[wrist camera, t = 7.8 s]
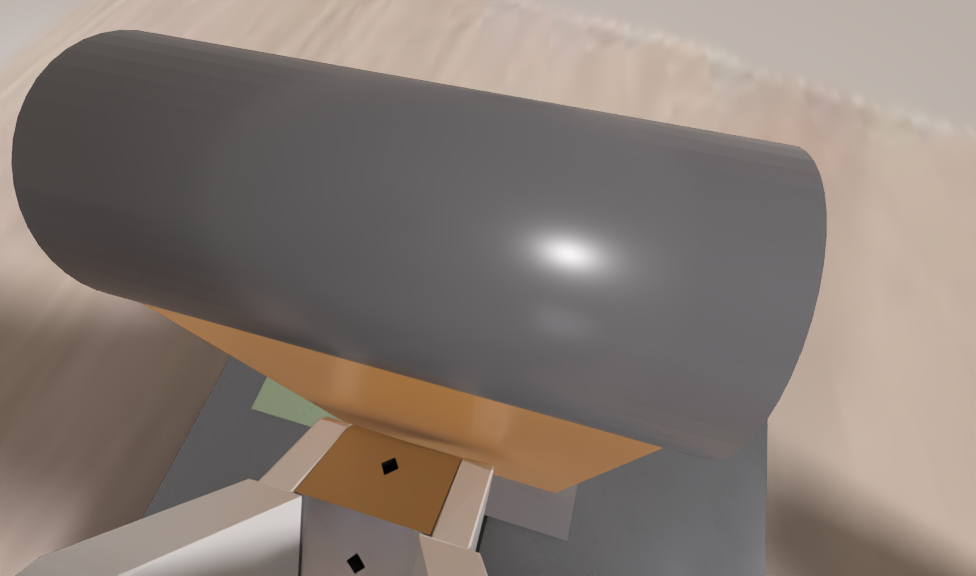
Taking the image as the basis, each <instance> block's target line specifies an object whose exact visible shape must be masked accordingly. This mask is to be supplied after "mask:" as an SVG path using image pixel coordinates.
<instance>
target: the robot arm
mask: <svg viewBox="0 0 976 576" xmlns="http://www.w3.org/2000/svg"><path fill="white" fill-rule="evenodd" d="M493 471H494V467H493V465H491V464H487V463H483V462H479V461H476V460H472V459H468V458H465V457H464V458H462V457H459V456H455V455H452V454H448V453H445V452H441V451H438V450H434V449H431V448H427V447H424V446H420V445H417V444H413V443H410V442H407V441H404V440H400V439H397V438H394V437H391V436H388V435H385V434H382V433H379V432H375V431H372V430H369V429H366V428H363V427H360V426H357V425H351V424H349V423H346V422H342V421H339V420H336V419H333V418H330V417H324V418H321V419H319V420H318V421H317V422H316V423H315V424H314V425H313V426H312V427H311V428H310V429H309V430H308V431H307V432H306V433H305V434H304V435H303V436H302V437H301V438H300V439H299V440H298V441H297V442H296V443H295V444H294V445H293V446H292V447H291V448H290V449H289V450H288V451H287V452H286V453H285V454H284V455H283V456H282V457H281V458H280V459H279V460H278V461H277V462H276V464H275V465H274V466H273V467H272V468H271V469H270V470H269V471H268V472H267V473H266V474H265V475H264V476H263V477H262V478H261V479H260V480H259V481H255V480H252V479H247V480H244V481H241V482H239V483H236V484H233V485H231V486H228V487H225V488H223V489H220V490H217V491H215V492H212V493H209V494H207V495H204V496H201V497H199V498H196V499H193V500H191V501H188V502H185V503H183V504H180V505H177V506H175V507H172V508H169V509H167V510H164V511H161V512H159V513H156V514H153V515H151V516H148V517H145V518H143V519H140V520H137V521H135V522H132V523H129V524H127V525H124V526H121V527H119V528H116V529H113V530H111V531H108V532H105V533H103V534H100V535H97V536H95V537H92V538H89V539H86V540H84V541H81V542H78V543H76V544H73V545H70V546H68V547H65V548H62V549H60V550H57V551H54V552H52V553H49V554H46V555H44V556H41V557H39V558H38V559H37V560H35V561H34V562H33V563H31V564H30V565H29V566H27V567H26V568H25V569H23V570H22V571H21V572H19V573H18V574H17V575H15V576H488V574H487V572H486V569H485V566H484V563H483V560H482V558H481V555H480V553H478V552H475V551H476V547H477V542H478V538H479V534H480V529H481V525H482V521H483V516H484V512H485V508H486V503H487V499H488V494H489V490H490V485H491V481H492V476H493Z"/></svg>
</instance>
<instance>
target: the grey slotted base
mask: <svg viewBox="0 0 976 576" xmlns="http://www.w3.org/2000/svg"><path fill="white" fill-rule="evenodd" d="M324 417H330V418H333V419H336V420H339V421H342V420H340V419H338V418H337V417H335V416H333V415H331V414H330V413H328V412H326V411H325V410H323V409H321V408H320V407H318V406H316V405H314V404H313V403H311V402H309V401H308V400H306V399H304V398H302V397H301V396H299V395H297V394H296V393H294V392H292V391H291V390H289V389H287V388H285V387H284V386H282V385H280V384H279V383H277V382H275V381H273V380H272V379H270V378H268V377H267V376H265V375H263V374H262V373H260V372H258V371H256V370H255V369H253V368H251V367H250V366H248V365H246V364H245V363H243V362H241V361H239V360H238V359H236V358H234V357H233V356H231V357H230V359H229V361H228V362H227V364H226V366H225V368H224V370H223V372H222V373H221V375H220V377H219V379H218V381H217V383H216V384H215V386H214V388H213V390H212V392H211V394H210V395H209V397H208V399H207V401H206V403H205V404H204V406H203V408H202V410H201V412H200V414H199V415H198V417H197V419H196V421H195V423H194V425H193V426H192V428H191V430H190V432H189V434H188V436H187V437H186V439H185V441H184V443H183V445H182V446H181V448H180V450H179V452H178V454H177V456H176V457H175V459H174V461H173V463H172V465H171V467H170V468H169V470H168V472H167V474H166V476H165V478H164V479H163V481H162V483H161V485H160V487H159V488H158V490H157V492H156V494H155V496H154V498H153V499H152V501H151V503H150V505H149V507H148V509H147V510H146V512H145V514H144V516H143V518H145V517H148V516H151V515H153V514H156V513H159V512H161V511H164V510H167V509H169V508H172V507H175V506H177V505H180V504H183V503H185V502H188V501H191V500H193V499H196V498H199V497H201V496H204V495H207V494H209V493H212V492H215V491H217V490H220V489H223V488H225V487H228V486H231V485H233V484H236V483H239V482H241V481H244V480H247V479H252V480H255V481H259V480H260V479H261V478H262V477H263V476H264V475H265V474H266V473H267V472H268V471H269V470H270V469H271V468H272V467H273V466H274V465H275V464H276V462H277V461H278V460H279V459H280V458H281V457H282V456H283V455H284V454H285V453H286V452H287V451H288V450H289V449H290V448H291V447H292V446H293V445H294V444H295V443H296V442H297V441H298V440H299V439H300V438H301V437H302V436H303V435H304V434H305V433H306V432H307V431H308V430H309V429H310V428H311V427H312V426H313V425H314V424H315V423H316V422H317V421H318V420H319V419H321V418H324ZM342 422H343V421H342ZM766 480H767V420H766V421H765V423H764V424H763V425H762V427H761V428H760V429H759V430H758V432H757V433H756V434H755V436H754V437H753V438H751V439H750V440H749V441H748V442H747V443H746V444H745V445H744V446H743V447H742V448H741V449H740V450H738V451H737V452H735V453H734V454H732V455H731V456H729V457H726V458H724V459H721V460H713V461H710V460H706V459H702V458H699V457H695V456H691V455H688V454H684V453H681V452H677V451H673V450H670V449H666V448H662V449H660V450H657V451H655V452H652V453H650V454H648V455H645V456H643V457H640V458H638V459H636V460H633V461H631V462H628V463H626V464H624V465H621V466H619V467H616V468H614V469H612V470H609V471H607V472H604V473H602V474H600V475H597V476H595V477H593V478H590V479H588V480H585V481H583V482H581V483H578V484H577V490H576V495H575V501H574V506H573V512H572V517H571V523H570V528H569V534H568V539H567V541H565V540H562V539H559V538H556V537H553V536H550V535H547V534H543V533H540V532H537V531H534V530H531V529H528V528H524V527H521V526H518V525H515V524H512V523H509V522H505V521H502V520H499V519H496V518H493V517H490V516H486V515H484V516H483V521H482V525H481V529H480V534H479V538H478V542H477V547H476V551H475V552H478V553H480V555H481V558H482V560H483V563H484V566H485V569H486V572H487V574H488V576H765V543H766ZM143 518H142V519H143Z"/></svg>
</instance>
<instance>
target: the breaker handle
mask: <svg viewBox="0 0 976 576" xmlns="http://www.w3.org/2000/svg"><path fill="white" fill-rule="evenodd" d="M12 172H13V182H14V188H15V192H16V196H17V200H18V204H19V207H20V210H21V212H22V215H23V217H24V219H25V222H26V224H27V226H28V228H29V230H30V232H31V233H32V235H33V237H34V238H35V240H36V241H37V243H38V245H39V246H40V247H41V248H42V250H43V251H44V252H45V253H46V254H47V256H48V257H49V258H50V259H51V260H52V261H53V262H54V263H55V264H56V265H57V266H58V267H59V268H61V269H62V270H63V271H64V272H65V273H66V274H68V275H69V276H71V277H73V278H74V279H76V280H77V281H79V282H80V283H82V284H84V285H86V286H89V287H91V288H93V289H95V290H98V291H101V292H105V293H108V294H111V295H115V296H119V297H122V298H126V299H129V300H133V301H137V302H140V303H142V304H144V305H146V306H147V307H149V308H151V309H152V310H154V311H156V312H158V313H159V314H161V315H163V316H164V317H166V318H168V319H170V320H171V321H173V322H175V323H176V324H178V325H180V326H181V327H183V328H185V329H187V330H188V331H190V332H192V333H193V334H195V335H197V336H198V337H200V338H202V339H204V340H205V341H207V342H209V343H210V344H212V345H214V346H216V347H217V348H219V349H221V350H222V351H224V352H226V353H227V354H229V355H231V356H233V357H234V358H236V359H238V360H239V361H241V362H243V363H245V364H246V365H248V366H250V367H251V368H253V369H255V370H256V371H258V372H260V373H262V374H263V375H265V376H267V377H268V378H270V379H272V380H273V381H275V382H277V383H279V384H280V385H282V386H284V387H285V388H287V389H289V390H291V391H292V392H294V393H296V394H297V395H299V396H301V397H302V398H304V399H306V400H308V401H309V402H311V403H313V404H314V405H316V406H318V407H320V408H321V409H323V410H325V411H326V412H328V413H330V414H331V415H333V416H335V417H337V418H338V419H340V420H342V421H343V422H346V423H349V424H351V425H357V426H360V427H363V428H366V429H369V430H372V431H375V432H379V433H382V434H385V435H388V436H391V437H394V438H397V439H400V440H404V441H407V442H410V443H413V444H417V445H420V446H424V447H427V448H431V449H434V450H438V451H441V452H445V453H448V454H452V455H455V456H459V457H462V458H464V457H465V458H468V459H472V460H476V461H479V462H483V463H487V464H491V465H493V467H494V471H493V476H492V481H491V485H490V490H489V494H488V499H487V503H486V508H485V512H484V515H486V516H490V517H493V518H496V519H499V520H502V521H505V522H509V523H512V524H515V525H518V526H521V527H524V528H528V529H531V530H534V531H537V532H540V533H543V534H547V535H550V536H553V537H556V538H559V539H562V540H565V541H567V539H568V534H569V528H570V523H571V517H572V512H573V506H574V501H575V495H576V490H577V484H578V483H581V482H583V481H585V480H588V479H590V478H593V477H595V476H597V475H600V474H602V473H604V472H607V471H609V470H612V469H614V468H616V467H619V466H621V465H624V464H626V463H628V462H631V461H633V460H636V459H638V458H640V457H643V456H645V455H648V454H650V453H652V452H655V451H657V450H660V449H662V448H666V449H670V450H673V451H677V452H681V453H684V454H688V455H691V456H695V457H699V458H702V459H706V460H710V461H713V460H721V459H724V458H726V457H729V456H731V455H732V454H734V453H735V452H737V451H738V450H740V449H741V448H742V447H743V446H744V445H745V444H746V443H747V442H748V441H749V440H750V439H751V438H753V437H754V436H755V434H756V433H757V432H758V430H759V429H760V428H761V427H762V425H763V424H764V423H765V421H766V420H767V419H768V417H769V415H770V414H771V412H772V411H773V409H774V407H775V406H776V404H777V403H778V401H779V399H780V397H781V395H782V393H783V391H784V389H785V388H786V386H787V384H788V382H789V380H790V378H791V376H792V373H793V371H794V368H795V366H796V363H797V361H798V359H799V356H800V354H801V351H802V349H803V346H804V343H805V340H806V337H807V334H808V331H809V327H810V324H811V321H812V317H813V314H814V310H815V306H816V302H817V298H818V294H819V289H820V283H821V277H822V271H823V266H824V257H825V246H826V213H827V212H826V203H825V193H824V188H823V184H822V180H821V176H820V173H819V171H818V169H817V166H816V164H815V162H814V160H813V159H812V158H811V157H810V155H809V154H808V153H807V152H806V151H805V150H803V149H801V148H800V147H798V146H793V145H787V144H782V143H776V142H770V141H764V140H759V139H753V138H747V137H742V136H736V135H730V134H725V133H719V132H713V131H708V130H702V129H696V128H691V127H685V126H679V125H673V124H668V123H662V122H656V121H651V120H645V119H639V118H634V117H628V116H622V115H617V114H611V113H605V112H600V111H594V110H588V109H582V108H577V107H571V106H565V105H560V104H554V103H548V102H543V101H537V100H531V99H526V98H520V97H514V96H509V95H503V94H497V93H491V92H486V91H480V90H474V89H469V88H463V87H457V86H452V85H446V84H440V83H435V82H429V81H423V80H417V79H412V78H406V77H400V76H395V75H389V74H383V73H378V72H372V71H366V70H361V69H355V68H349V67H344V66H338V65H332V64H326V63H321V62H315V61H309V60H304V59H298V58H292V57H287V56H281V55H275V54H270V53H264V52H258V51H253V50H247V49H241V48H235V47H230V46H224V45H218V44H213V43H207V42H201V41H196V40H190V39H184V38H179V37H173V36H167V35H162V34H156V33H150V32H144V31H138V30H118V31H112V32H105V33H100V34H98V35H95V36H92V37H89V38H86V39H83V40H82V41H80V42H78V43H76V44H74V45H73V46H71V47H69V48H67V49H66V50H65V51H63V52H62V53H61V54H60V55H59V56H57V57H56V58H55V59H54V60H52V61H51V62H50V63H49V65H48V66H47V67H46V68H45V69H44V70H43V72H42V73H41V74H40V75H39V76H38V77H37V79H36V80H35V82H34V84H33V85H32V87H31V89H30V90H29V92H28V94H27V96H26V98H25V100H24V103H23V105H22V108H21V110H20V113H19V115H18V118H17V123H16V128H15V132H14V137H13V146H12Z"/></svg>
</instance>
